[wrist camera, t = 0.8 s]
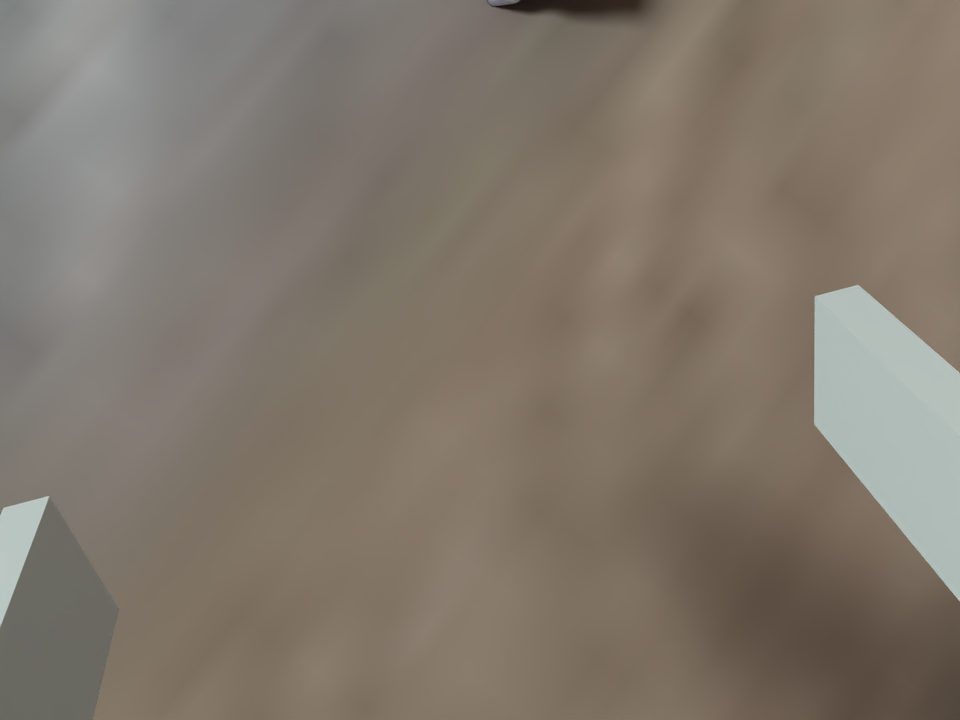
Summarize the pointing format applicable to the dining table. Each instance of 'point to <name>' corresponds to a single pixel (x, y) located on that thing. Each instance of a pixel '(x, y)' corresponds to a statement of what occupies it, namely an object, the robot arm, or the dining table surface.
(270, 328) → the dining table surface
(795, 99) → the dining table surface
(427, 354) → the dining table surface
